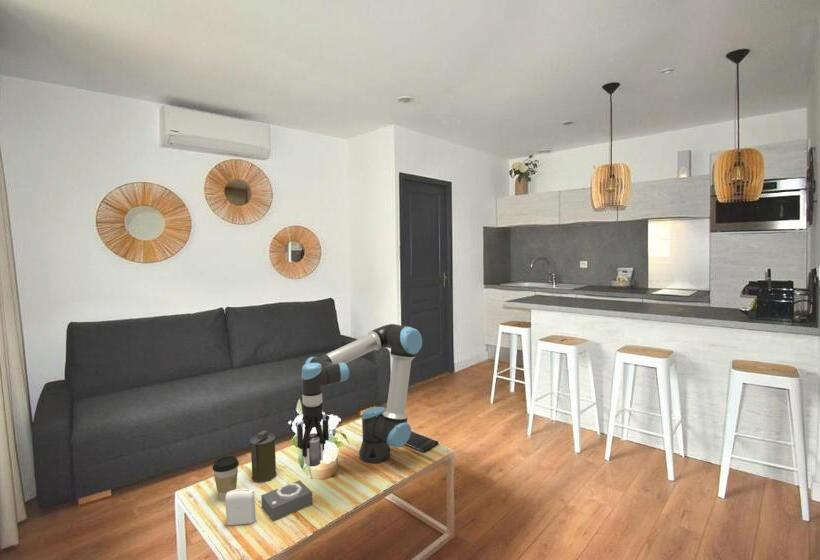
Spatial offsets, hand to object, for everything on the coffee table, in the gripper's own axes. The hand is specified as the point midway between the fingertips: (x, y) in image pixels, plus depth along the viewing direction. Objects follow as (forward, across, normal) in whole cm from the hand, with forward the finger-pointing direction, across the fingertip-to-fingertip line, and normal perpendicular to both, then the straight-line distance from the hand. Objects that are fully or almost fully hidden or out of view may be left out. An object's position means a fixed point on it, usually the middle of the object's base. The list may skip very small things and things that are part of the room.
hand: (313, 461), depth 165 cm
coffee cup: (+17, +24, -28) cm, 41 cm away
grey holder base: (+17, +8, -6) cm, 20 cm away
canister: (+17, +7, -33) cm, 38 cm away
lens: (+1, 0, 0) cm, 1 cm away
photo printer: (+18, +26, -8) cm, 32 cm away
